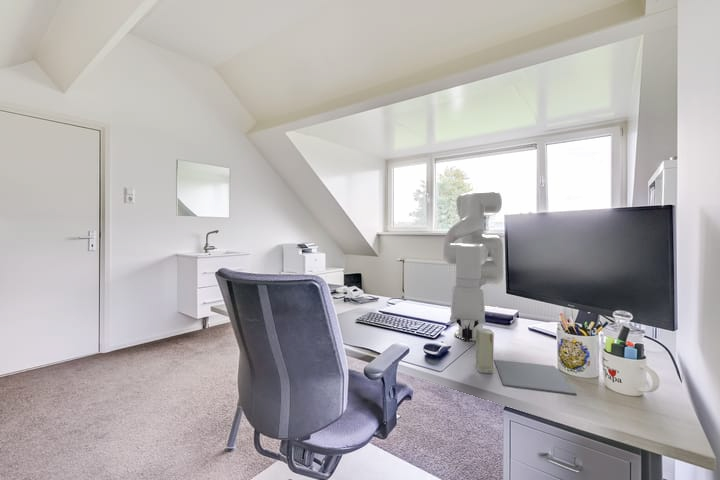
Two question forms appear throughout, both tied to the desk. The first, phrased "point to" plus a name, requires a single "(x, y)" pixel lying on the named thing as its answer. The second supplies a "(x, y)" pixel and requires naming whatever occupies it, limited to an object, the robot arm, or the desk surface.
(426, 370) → the desk surface
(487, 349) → the skincare box
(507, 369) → the desk mat
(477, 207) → the robot arm
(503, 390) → the desk surface
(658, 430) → the desk surface
